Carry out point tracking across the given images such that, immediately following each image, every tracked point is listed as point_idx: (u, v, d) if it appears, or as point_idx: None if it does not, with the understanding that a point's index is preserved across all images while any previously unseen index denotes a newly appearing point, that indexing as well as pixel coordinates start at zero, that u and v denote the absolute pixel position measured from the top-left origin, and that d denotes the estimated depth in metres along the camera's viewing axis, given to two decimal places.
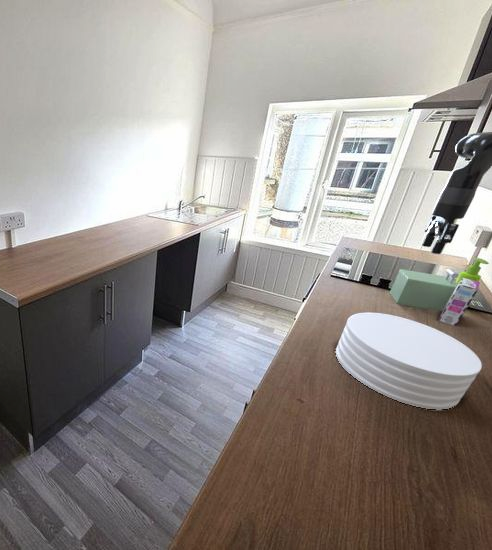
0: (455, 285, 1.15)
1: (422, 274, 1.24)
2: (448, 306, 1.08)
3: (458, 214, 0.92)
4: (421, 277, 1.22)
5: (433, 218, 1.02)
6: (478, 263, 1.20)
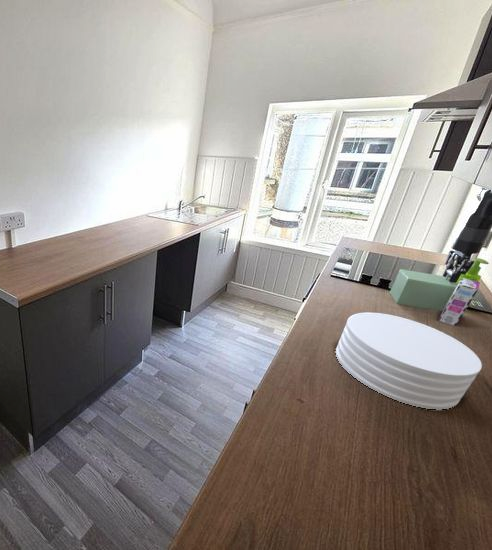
0: (455, 285, 1.15)
1: (422, 274, 1.24)
2: (448, 306, 1.08)
3: (475, 250, 1.10)
4: (421, 277, 1.22)
5: (451, 252, 1.20)
6: (478, 263, 1.20)
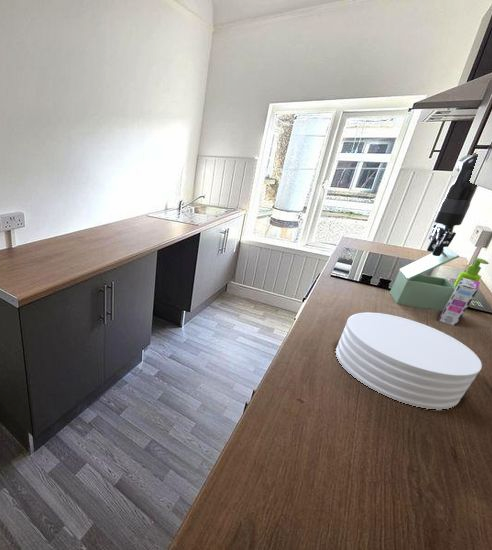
0: (450, 256, 1.13)
1: (419, 262, 1.23)
2: (448, 306, 1.08)
3: (456, 221, 1.09)
4: (419, 266, 1.21)
5: (434, 226, 1.19)
6: (478, 263, 1.20)
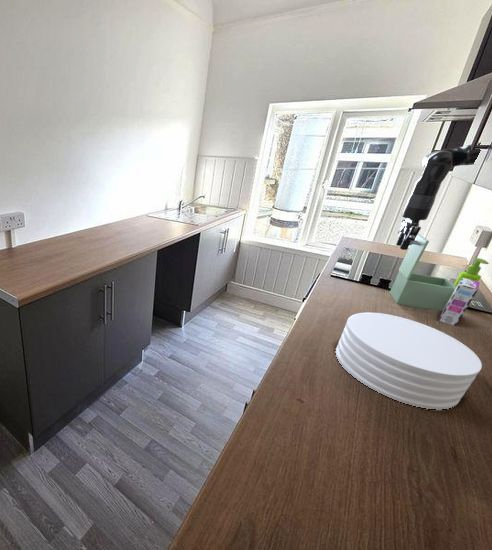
0: (423, 243, 1.15)
1: (407, 257, 1.24)
2: (448, 306, 1.08)
3: (422, 216, 1.13)
4: (409, 262, 1.22)
5: (403, 221, 1.23)
6: (478, 263, 1.20)
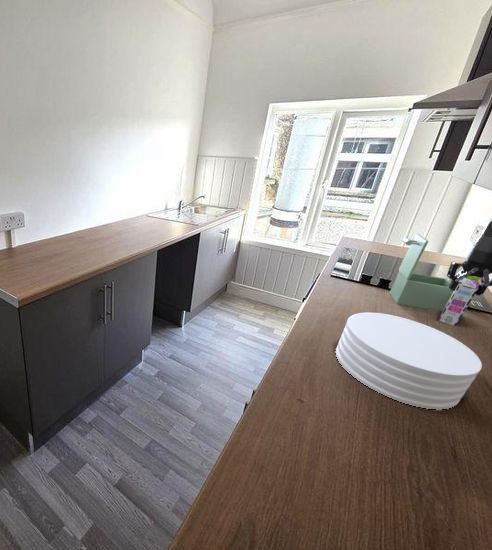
0: (422, 243, 1.15)
1: (407, 257, 1.24)
2: (448, 306, 1.08)
3: (471, 256, 1.03)
4: (408, 262, 1.22)
5: None
6: None
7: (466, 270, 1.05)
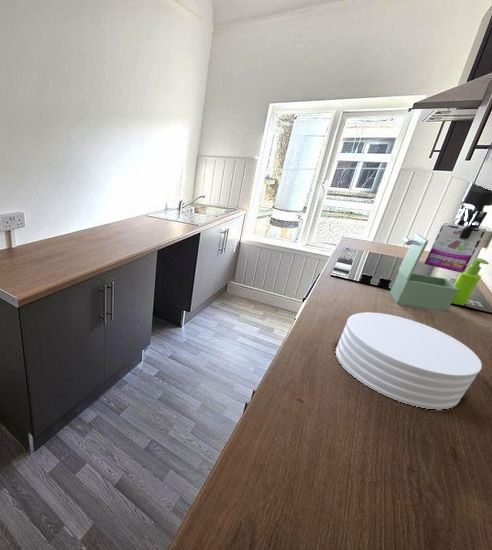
0: (422, 243, 1.15)
1: (407, 257, 1.24)
2: None
3: (487, 201, 1.02)
4: (408, 262, 1.22)
5: (462, 207, 1.12)
6: (478, 263, 1.20)
7: None
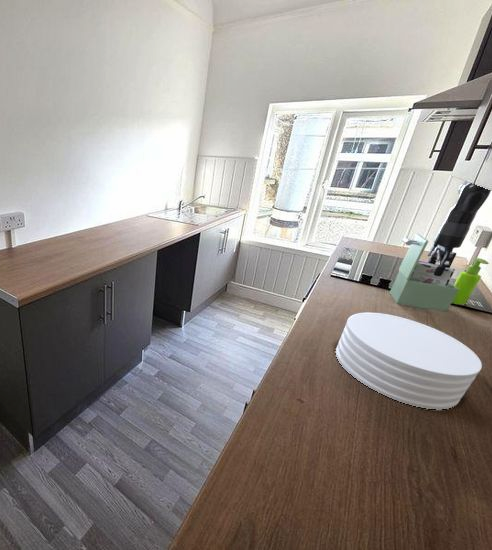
0: (422, 243, 1.15)
1: (407, 257, 1.24)
2: None
3: (456, 244, 1.12)
4: (408, 262, 1.22)
5: (435, 245, 1.21)
6: (478, 263, 1.20)
7: None
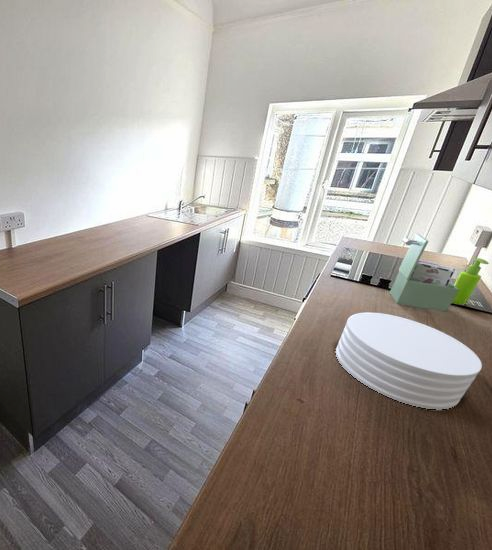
0: (422, 243, 1.15)
1: (407, 257, 1.24)
2: None
3: None
4: (408, 262, 1.22)
5: None
6: (478, 263, 1.20)
7: None
